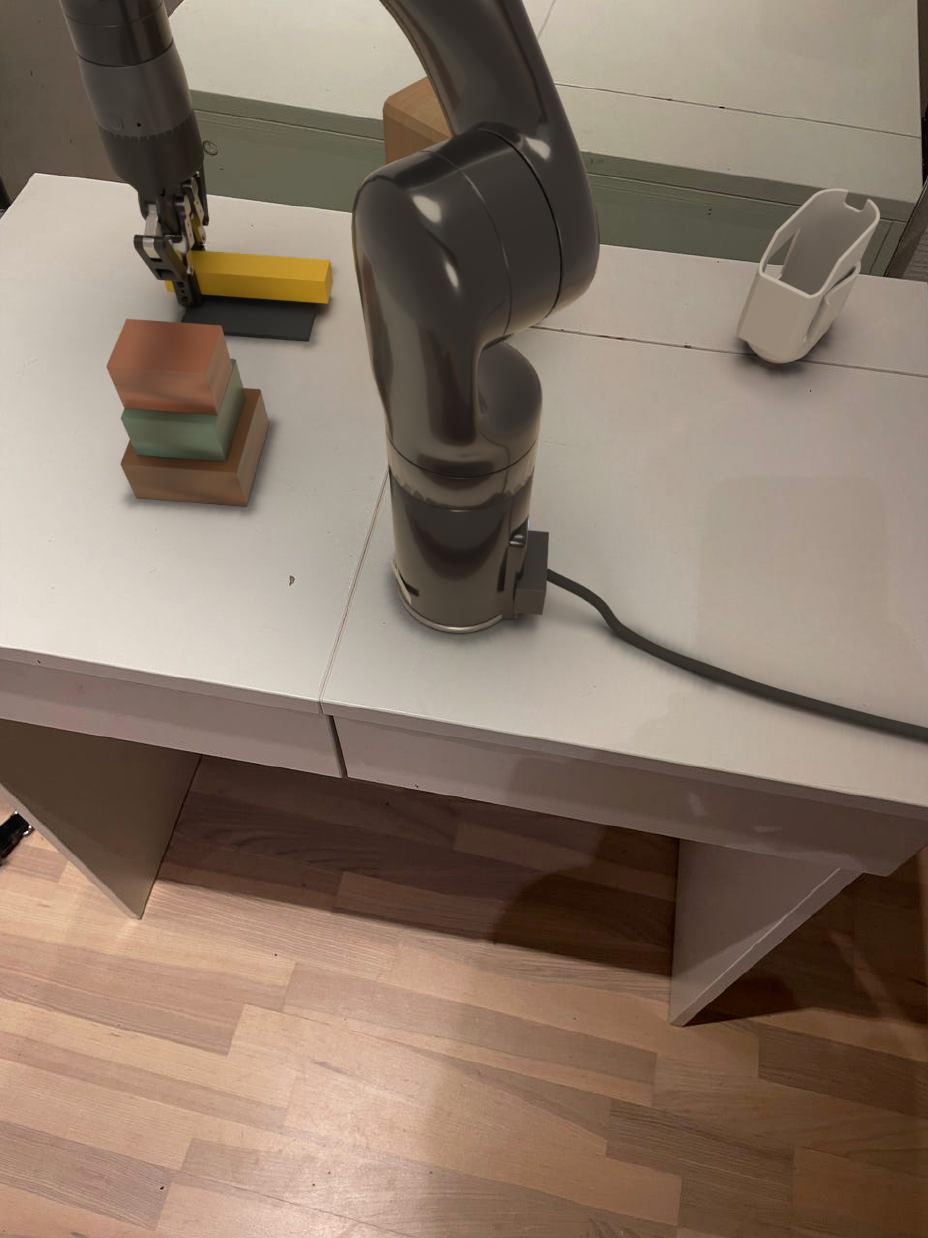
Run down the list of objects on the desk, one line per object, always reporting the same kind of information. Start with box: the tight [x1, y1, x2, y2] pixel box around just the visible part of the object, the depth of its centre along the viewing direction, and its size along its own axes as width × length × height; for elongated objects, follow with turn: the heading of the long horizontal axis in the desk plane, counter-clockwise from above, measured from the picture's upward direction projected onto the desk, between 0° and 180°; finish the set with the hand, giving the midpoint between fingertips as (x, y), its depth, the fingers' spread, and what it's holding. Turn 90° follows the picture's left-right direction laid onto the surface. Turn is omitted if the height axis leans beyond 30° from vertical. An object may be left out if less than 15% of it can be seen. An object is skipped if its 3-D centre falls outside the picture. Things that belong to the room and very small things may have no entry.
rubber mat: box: [180, 294, 319, 342], centre depth 82 cm, size 12×10×1 cm
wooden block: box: [382, 75, 452, 165], centre depth 73 cm, size 10×10×20 cm
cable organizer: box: [736, 188, 881, 364], centre depth 76 cm, size 7×12×12 cm, turn 141°
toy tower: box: [105, 318, 270, 507], centre depth 67 cm, size 9×9×12 cm
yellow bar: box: [163, 250, 334, 304], centre depth 80 cm, size 15×3×2 cm, turn 85°
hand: (196, 291), depth 82 cm, fingers closed on yellow bar, 3 cm apart
